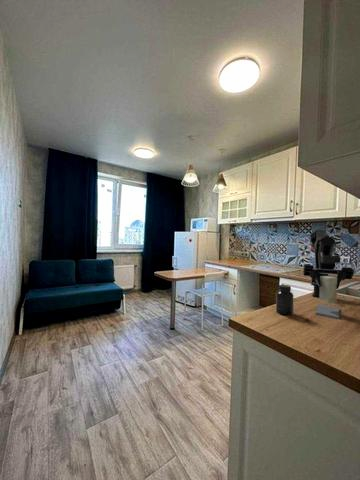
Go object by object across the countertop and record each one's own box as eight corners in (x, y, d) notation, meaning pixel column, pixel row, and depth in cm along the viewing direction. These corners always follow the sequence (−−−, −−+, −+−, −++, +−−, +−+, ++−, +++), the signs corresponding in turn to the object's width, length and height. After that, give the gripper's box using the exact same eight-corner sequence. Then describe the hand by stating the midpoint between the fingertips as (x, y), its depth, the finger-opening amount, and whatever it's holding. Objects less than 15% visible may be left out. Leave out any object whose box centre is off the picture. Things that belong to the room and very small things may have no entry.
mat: (318, 305, 101) (318, 304, 101) (339, 309, 96) (339, 307, 96) (315, 314, 90) (315, 312, 90) (338, 318, 85) (338, 316, 85)
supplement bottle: (284, 309, 96) (285, 283, 96) (297, 314, 89) (297, 287, 89) (272, 311, 94) (272, 284, 93) (284, 316, 87) (284, 288, 87)
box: (337, 303, 90) (338, 278, 90) (328, 303, 90) (329, 278, 89) (326, 299, 96) (327, 275, 95) (318, 299, 95) (319, 275, 95)
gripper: (304, 247, 100) (305, 274, 90) (353, 249, 91) (360, 279, 82) (302, 262, 107) (303, 288, 98) (348, 265, 98) (354, 294, 89)
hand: (328, 287), depth 91 cm, fingers closed on box, 6 cm apart
